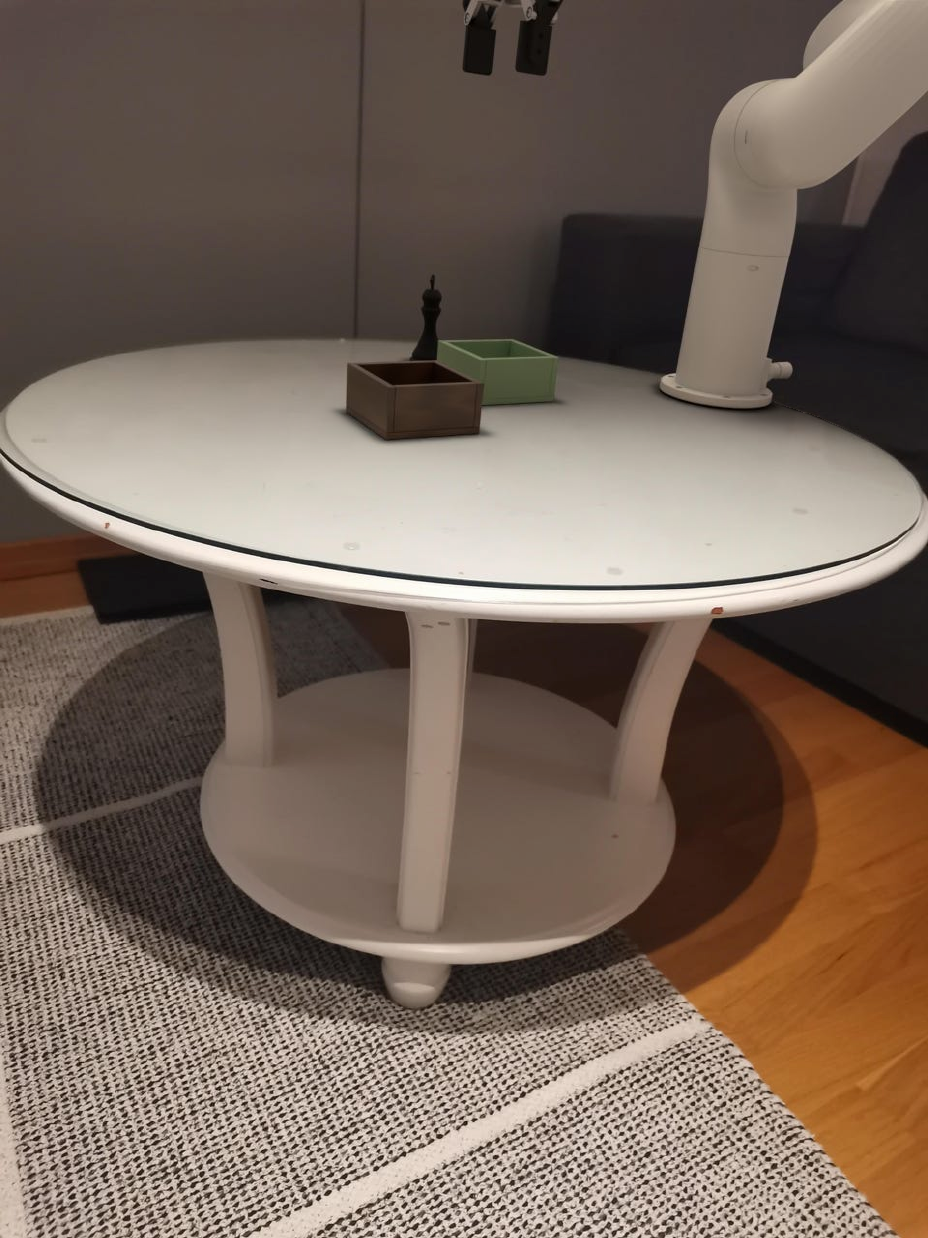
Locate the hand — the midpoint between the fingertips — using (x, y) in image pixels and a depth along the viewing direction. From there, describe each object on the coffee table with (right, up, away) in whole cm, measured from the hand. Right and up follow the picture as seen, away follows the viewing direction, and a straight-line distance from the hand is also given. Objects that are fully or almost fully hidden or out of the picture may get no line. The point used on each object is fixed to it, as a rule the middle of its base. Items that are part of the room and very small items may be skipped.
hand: (502, 73), depth 91 cm
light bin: (-1, -28, +10) cm, 30 cm away
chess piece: (-8, -22, +21) cm, 32 cm away
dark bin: (-9, -34, -3) cm, 35 cm away
